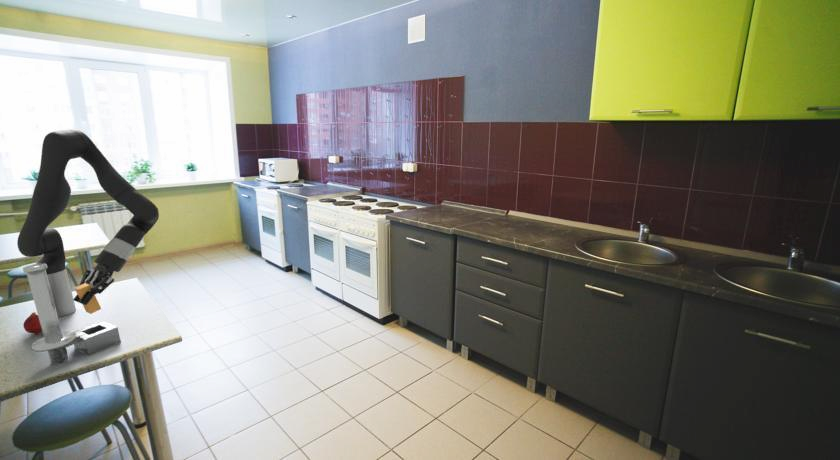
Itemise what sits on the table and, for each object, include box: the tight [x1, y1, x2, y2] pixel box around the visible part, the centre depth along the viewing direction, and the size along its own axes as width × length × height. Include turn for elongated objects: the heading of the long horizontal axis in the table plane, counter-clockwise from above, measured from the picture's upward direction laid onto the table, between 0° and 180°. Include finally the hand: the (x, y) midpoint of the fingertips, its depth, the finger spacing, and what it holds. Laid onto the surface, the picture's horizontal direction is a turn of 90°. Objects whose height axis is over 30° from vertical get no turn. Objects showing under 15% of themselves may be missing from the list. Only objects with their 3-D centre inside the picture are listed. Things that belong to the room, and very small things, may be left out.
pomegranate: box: [23, 311, 43, 335], centre depth 135 cm, size 6×6×8 cm
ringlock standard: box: [22, 263, 121, 365], centre depth 121 cm, size 10×20×30 cm, turn 152°
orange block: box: [74, 282, 102, 315], centre depth 125 cm, size 3×3×9 cm
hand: (79, 302), depth 123 cm, fingers closed on orange block, 3 cm apart
